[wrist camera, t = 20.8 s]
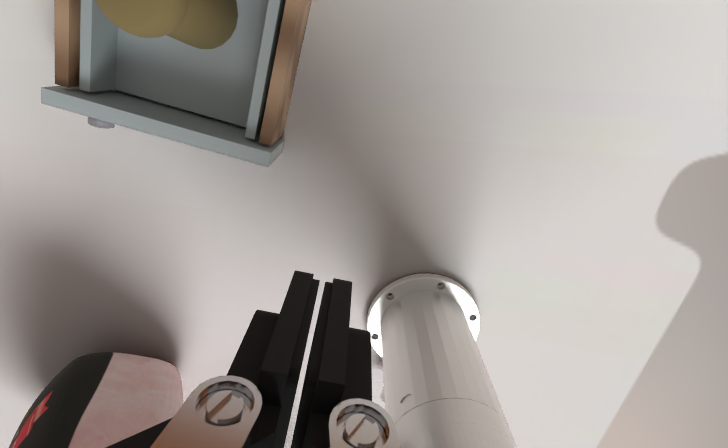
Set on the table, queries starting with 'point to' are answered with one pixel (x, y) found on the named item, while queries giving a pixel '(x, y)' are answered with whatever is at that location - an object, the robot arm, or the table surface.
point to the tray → (179, 82)
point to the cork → (175, 19)
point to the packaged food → (101, 402)
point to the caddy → (281, 74)
